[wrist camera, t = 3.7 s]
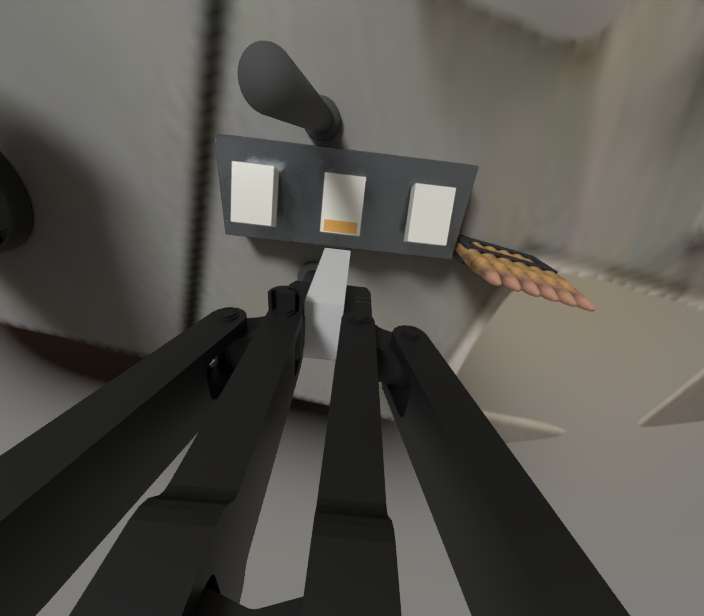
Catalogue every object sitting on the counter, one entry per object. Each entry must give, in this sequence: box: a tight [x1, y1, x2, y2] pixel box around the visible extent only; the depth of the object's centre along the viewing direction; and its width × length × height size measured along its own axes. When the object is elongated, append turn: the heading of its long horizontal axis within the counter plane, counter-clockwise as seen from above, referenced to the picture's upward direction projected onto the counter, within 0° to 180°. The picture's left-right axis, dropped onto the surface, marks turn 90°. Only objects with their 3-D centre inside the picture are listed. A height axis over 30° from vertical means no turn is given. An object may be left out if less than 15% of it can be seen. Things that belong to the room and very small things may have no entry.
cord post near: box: [238, 41, 340, 141], centre depth 20 cm, size 4×4×19 cm
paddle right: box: [404, 183, 456, 246], centre depth 26 cm, size 4×5×2 cm
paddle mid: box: [320, 172, 366, 237], centre depth 26 cm, size 4×5×2 cm
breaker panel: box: [214, 134, 479, 259], centre depth 29 cm, size 24×9×4 cm, turn 84°
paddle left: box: [231, 161, 279, 227], centre depth 26 cm, size 4×5×2 cm
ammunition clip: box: [453, 235, 595, 311], centre depth 29 cm, size 11×2×12 cm, turn 75°
